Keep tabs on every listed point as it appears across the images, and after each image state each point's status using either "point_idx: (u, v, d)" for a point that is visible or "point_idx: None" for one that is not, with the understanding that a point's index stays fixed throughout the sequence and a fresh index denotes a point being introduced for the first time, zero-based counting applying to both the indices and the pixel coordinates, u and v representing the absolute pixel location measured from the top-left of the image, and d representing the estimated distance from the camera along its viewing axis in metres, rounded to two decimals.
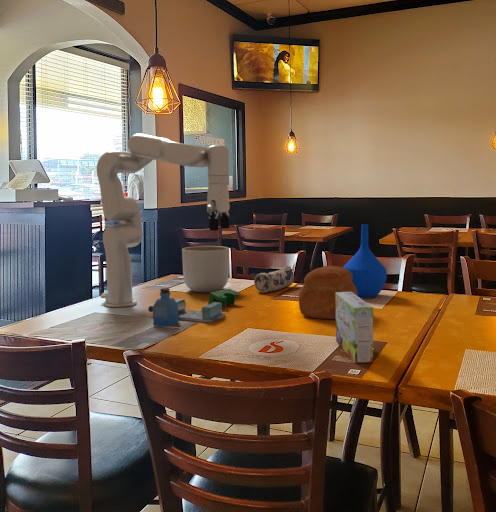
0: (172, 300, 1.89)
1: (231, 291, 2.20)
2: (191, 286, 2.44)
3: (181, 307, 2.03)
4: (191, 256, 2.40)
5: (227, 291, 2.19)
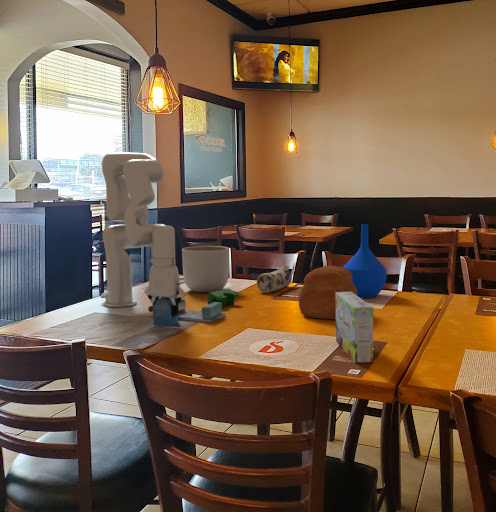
0: None
1: (230, 291, 2.20)
2: (191, 286, 2.44)
3: (181, 307, 2.03)
4: (191, 256, 2.40)
5: (226, 291, 2.19)
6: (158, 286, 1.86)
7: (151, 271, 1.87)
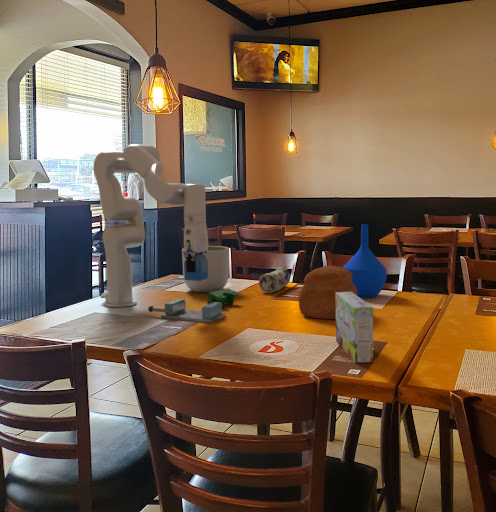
0: None
1: (230, 291, 2.20)
2: (191, 286, 2.44)
3: (181, 307, 2.03)
4: None
5: (226, 291, 2.20)
6: (201, 242, 1.94)
7: (196, 228, 1.91)
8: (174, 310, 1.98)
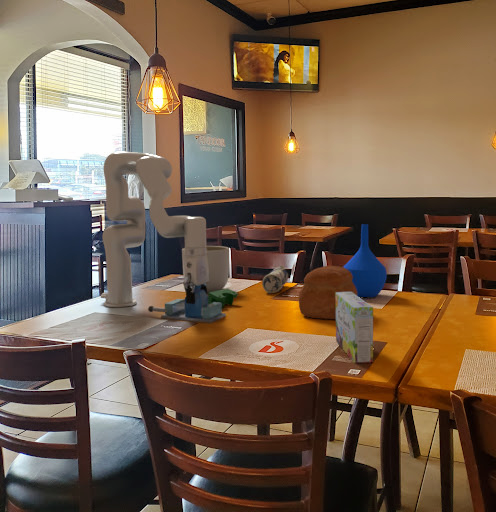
0: None
1: (230, 291, 2.21)
2: None
3: (181, 307, 2.03)
4: None
5: (226, 291, 2.20)
6: (202, 274, 1.95)
7: (197, 261, 1.92)
8: (174, 310, 1.98)
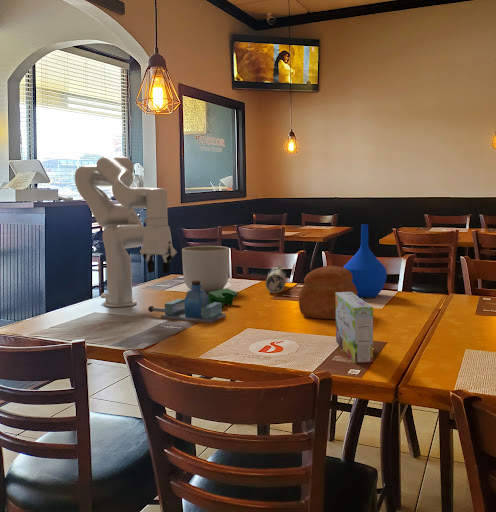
0: None
1: (229, 291, 2.21)
2: None
3: (181, 307, 2.03)
4: (191, 256, 2.40)
5: (225, 291, 2.20)
6: (151, 244, 2.00)
7: (145, 230, 2.00)
8: (174, 310, 1.98)
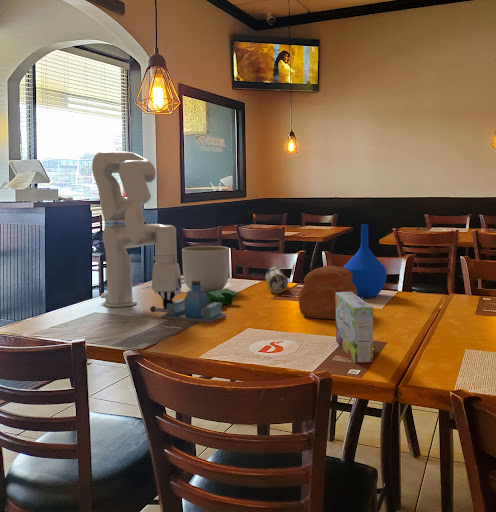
0: None
1: (229, 291, 2.21)
2: None
3: (183, 307, 2.02)
4: (191, 256, 2.40)
5: (225, 291, 2.20)
6: (161, 281, 2.00)
7: (154, 267, 2.01)
8: (176, 310, 1.98)
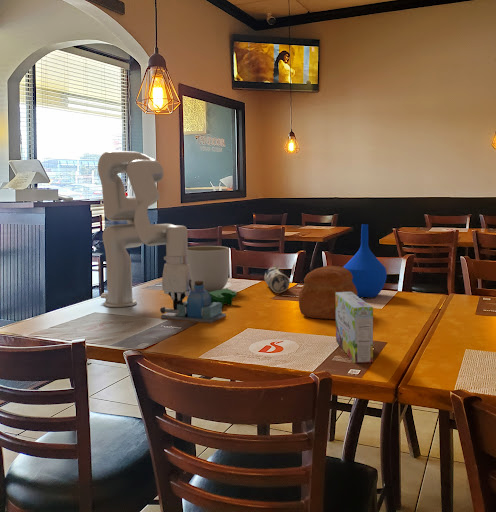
0: None
1: (229, 291, 2.21)
2: None
3: None
4: (191, 256, 2.40)
5: (225, 291, 2.20)
6: (171, 282, 1.98)
7: (165, 268, 1.99)
8: (186, 311, 1.96)
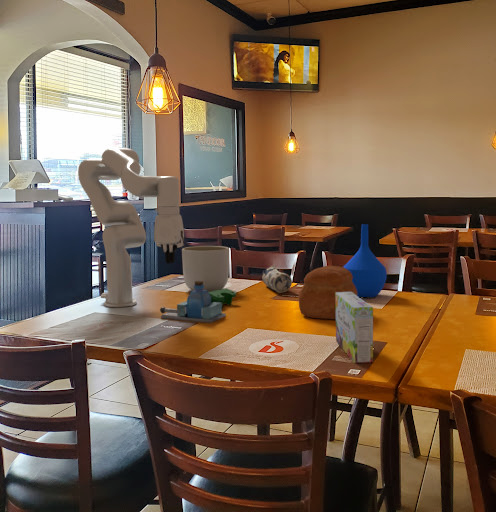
0: None
1: (228, 291, 2.21)
2: (191, 286, 2.44)
3: None
4: (191, 256, 2.40)
5: (224, 291, 2.20)
6: (163, 233, 1.97)
7: (156, 219, 1.98)
8: (186, 311, 1.96)
